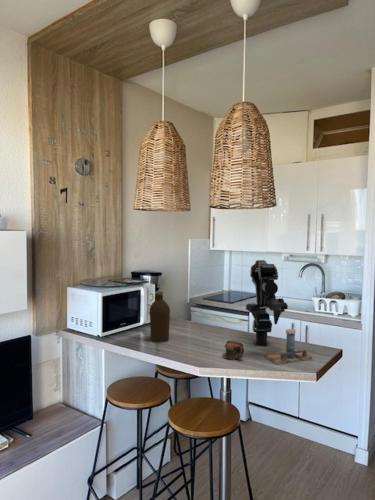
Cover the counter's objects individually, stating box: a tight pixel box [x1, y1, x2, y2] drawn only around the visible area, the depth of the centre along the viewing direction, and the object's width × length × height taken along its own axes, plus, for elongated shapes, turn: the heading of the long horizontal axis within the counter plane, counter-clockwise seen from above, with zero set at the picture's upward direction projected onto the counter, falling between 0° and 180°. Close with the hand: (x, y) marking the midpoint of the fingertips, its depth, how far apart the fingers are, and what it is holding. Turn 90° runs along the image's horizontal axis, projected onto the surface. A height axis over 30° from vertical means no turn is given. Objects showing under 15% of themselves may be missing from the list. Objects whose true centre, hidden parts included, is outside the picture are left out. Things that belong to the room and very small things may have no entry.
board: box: [263, 349, 313, 365], centre depth 162 cm, size 10×18×4 cm, turn 109°
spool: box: [285, 328, 296, 362], centre depth 160 cm, size 4×4×13 cm
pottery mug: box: [222, 340, 245, 361], centre depth 164 cm, size 12×10×8 cm
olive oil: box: [148, 291, 171, 343], centre depth 191 cm, size 11×11×25 cm
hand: (266, 325), depth 169 cm, fingers open, 9 cm apart
